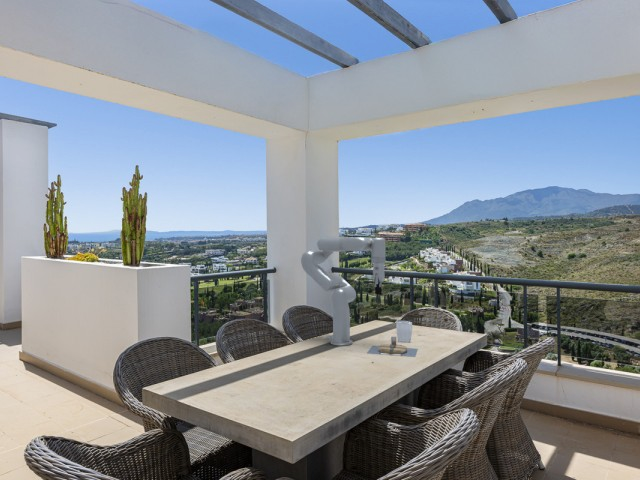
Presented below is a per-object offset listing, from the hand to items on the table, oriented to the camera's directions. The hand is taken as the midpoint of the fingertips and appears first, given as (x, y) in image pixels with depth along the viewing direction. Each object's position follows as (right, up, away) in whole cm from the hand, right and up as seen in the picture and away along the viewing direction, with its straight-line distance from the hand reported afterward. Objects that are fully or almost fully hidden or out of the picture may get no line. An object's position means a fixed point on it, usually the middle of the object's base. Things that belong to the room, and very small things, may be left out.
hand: (378, 294), depth 232 cm
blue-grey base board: (+6, -29, -12) cm, 32 cm away
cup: (+16, -29, +10) cm, 35 cm away
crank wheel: (+6, -27, -12) cm, 31 cm away
